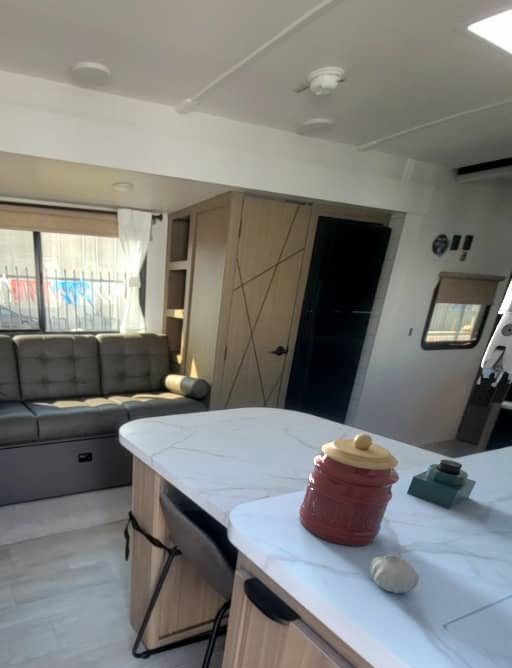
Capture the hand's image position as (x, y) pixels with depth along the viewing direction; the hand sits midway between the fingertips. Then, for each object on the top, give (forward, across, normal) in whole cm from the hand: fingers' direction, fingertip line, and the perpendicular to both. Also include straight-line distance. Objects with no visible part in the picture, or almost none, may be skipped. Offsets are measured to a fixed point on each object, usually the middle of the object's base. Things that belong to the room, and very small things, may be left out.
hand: (485, 403), depth 81 cm
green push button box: (+20, -5, 0) cm, 20 cm away
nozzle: (+14, -5, 0) cm, 15 cm away
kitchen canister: (+20, -37, +4) cm, 42 cm away
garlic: (+20, -46, -9) cm, 51 cm away
